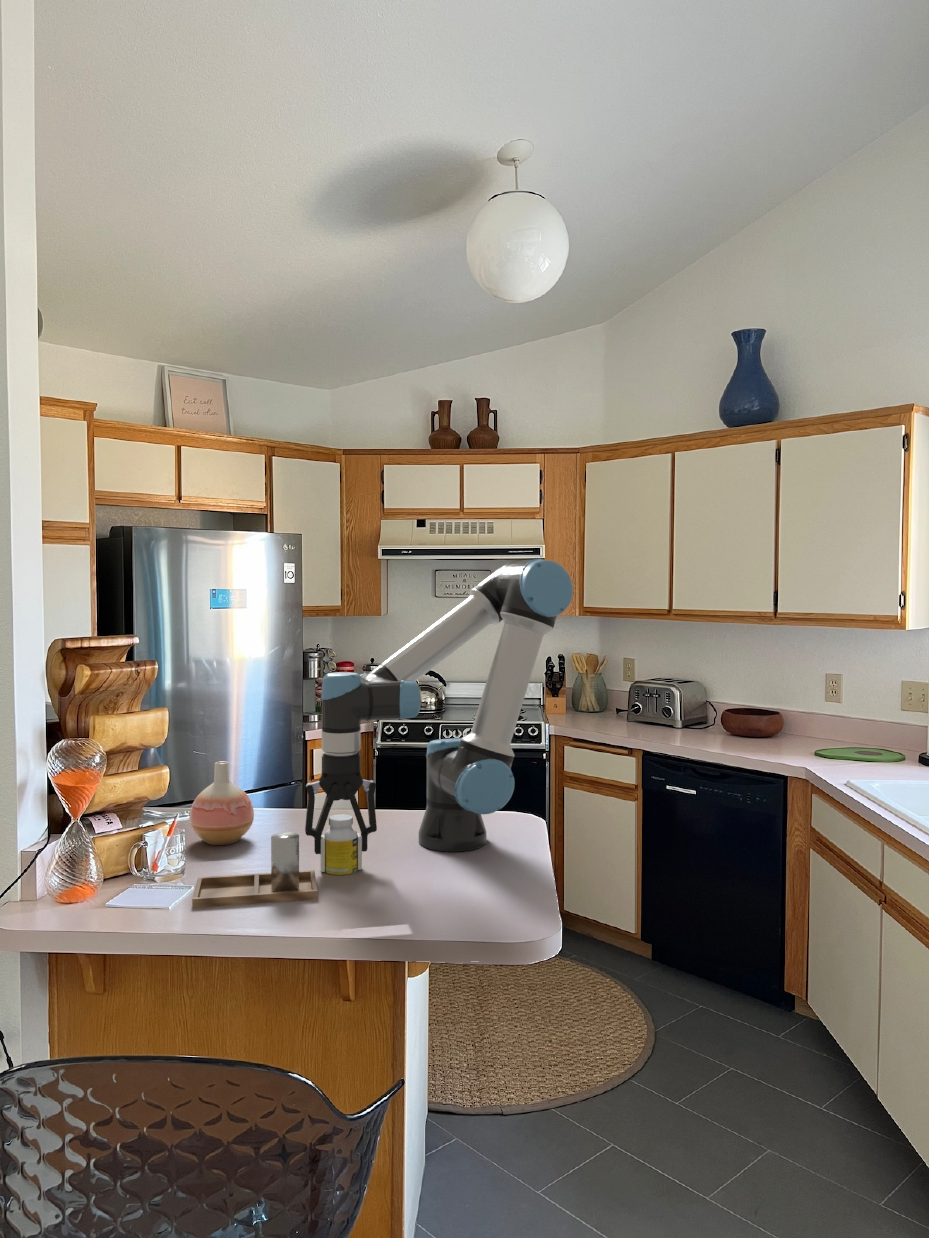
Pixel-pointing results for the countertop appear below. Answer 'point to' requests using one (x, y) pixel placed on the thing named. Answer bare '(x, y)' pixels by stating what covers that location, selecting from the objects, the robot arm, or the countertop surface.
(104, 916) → the countertop surface
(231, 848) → the countertop surface
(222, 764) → the vase
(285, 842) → the canister
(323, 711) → the robot arm
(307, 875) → the rack
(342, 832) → the pill bottle
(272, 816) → the countertop surface
